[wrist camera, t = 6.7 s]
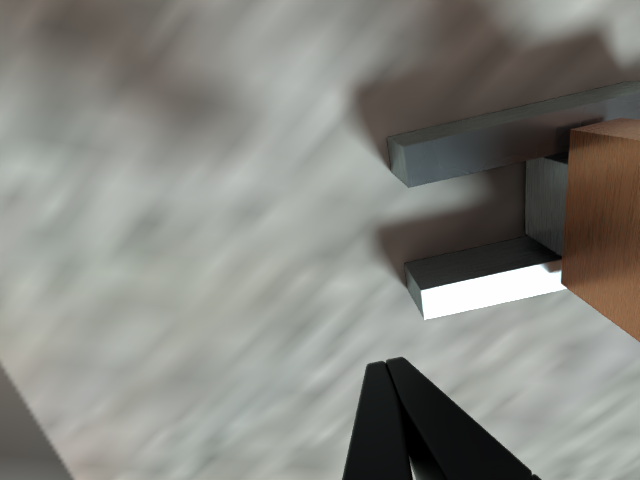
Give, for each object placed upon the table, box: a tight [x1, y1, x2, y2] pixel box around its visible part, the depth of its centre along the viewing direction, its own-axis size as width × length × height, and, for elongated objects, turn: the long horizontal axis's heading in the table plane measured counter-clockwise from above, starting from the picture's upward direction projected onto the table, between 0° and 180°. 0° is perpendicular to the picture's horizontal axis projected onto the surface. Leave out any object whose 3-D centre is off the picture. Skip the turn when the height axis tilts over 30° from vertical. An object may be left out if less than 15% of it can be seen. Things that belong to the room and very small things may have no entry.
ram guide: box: [387, 81, 640, 320], centre depth 12 cm, size 8×6×2 cm
